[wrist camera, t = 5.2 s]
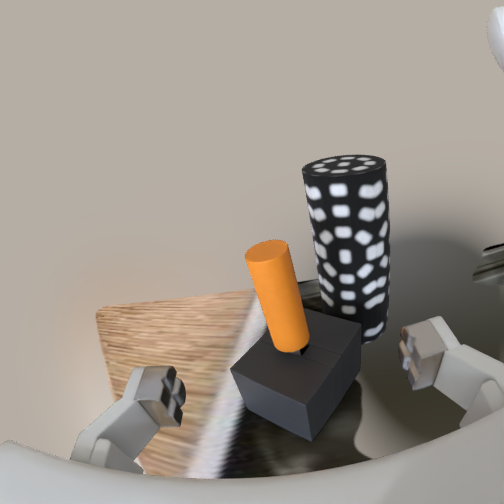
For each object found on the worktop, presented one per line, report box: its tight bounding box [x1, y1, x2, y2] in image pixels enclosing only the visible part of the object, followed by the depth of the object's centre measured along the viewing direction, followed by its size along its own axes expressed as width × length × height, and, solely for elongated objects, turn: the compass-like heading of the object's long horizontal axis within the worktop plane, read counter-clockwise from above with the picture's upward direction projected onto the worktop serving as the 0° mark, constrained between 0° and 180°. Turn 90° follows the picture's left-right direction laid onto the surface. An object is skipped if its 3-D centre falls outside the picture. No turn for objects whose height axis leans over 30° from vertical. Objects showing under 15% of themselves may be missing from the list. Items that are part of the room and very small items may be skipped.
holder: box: [230, 308, 361, 442], centre depth 28 cm, size 10×8×7 cm
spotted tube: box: [302, 155, 390, 345], centre depth 32 cm, size 8×8×20 cm
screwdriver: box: [245, 240, 309, 357], centre depth 26 cm, size 3×3×17 cm
